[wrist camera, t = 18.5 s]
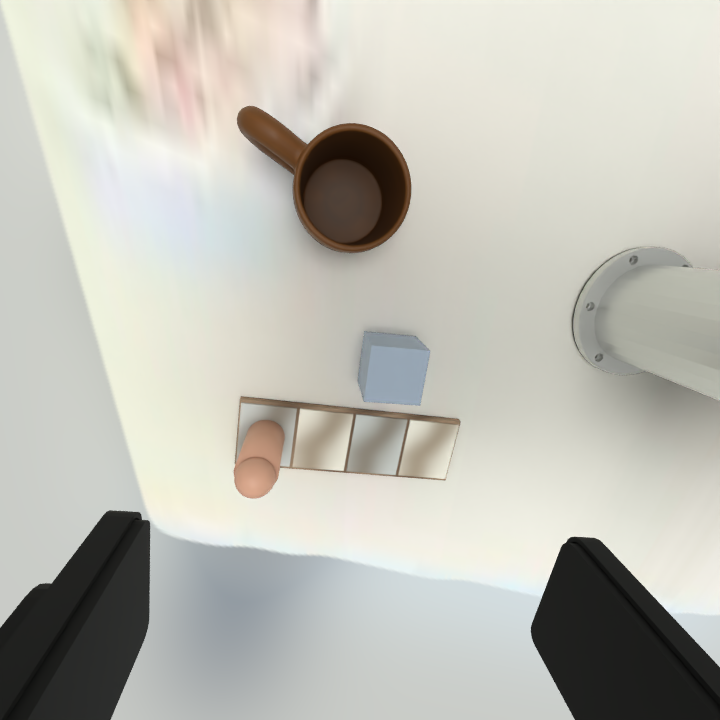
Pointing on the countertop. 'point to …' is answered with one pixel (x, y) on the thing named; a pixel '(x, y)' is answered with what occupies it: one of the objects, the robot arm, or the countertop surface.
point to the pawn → (259, 459)
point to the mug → (338, 179)
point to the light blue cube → (392, 368)
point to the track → (355, 438)
